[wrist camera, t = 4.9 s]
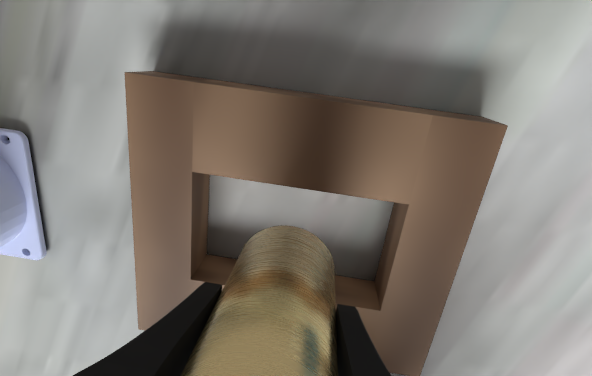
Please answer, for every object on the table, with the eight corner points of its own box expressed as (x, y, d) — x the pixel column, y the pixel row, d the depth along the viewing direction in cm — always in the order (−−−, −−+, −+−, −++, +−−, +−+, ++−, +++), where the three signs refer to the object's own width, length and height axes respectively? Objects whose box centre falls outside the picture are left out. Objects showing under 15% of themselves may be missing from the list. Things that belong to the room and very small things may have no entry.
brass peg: (239, 305, 15) (147, 546, 7) (237, 222, 13) (122, 410, 6) (331, 313, 14) (334, 573, 7) (337, 229, 13) (350, 436, 6)
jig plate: (159, 300, 22) (138, 329, 19) (153, 71, 17) (124, 72, 14) (409, 342, 21) (419, 377, 18) (481, 116, 16) (507, 125, 14)
